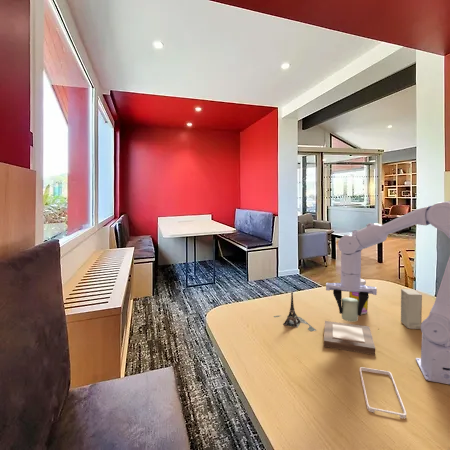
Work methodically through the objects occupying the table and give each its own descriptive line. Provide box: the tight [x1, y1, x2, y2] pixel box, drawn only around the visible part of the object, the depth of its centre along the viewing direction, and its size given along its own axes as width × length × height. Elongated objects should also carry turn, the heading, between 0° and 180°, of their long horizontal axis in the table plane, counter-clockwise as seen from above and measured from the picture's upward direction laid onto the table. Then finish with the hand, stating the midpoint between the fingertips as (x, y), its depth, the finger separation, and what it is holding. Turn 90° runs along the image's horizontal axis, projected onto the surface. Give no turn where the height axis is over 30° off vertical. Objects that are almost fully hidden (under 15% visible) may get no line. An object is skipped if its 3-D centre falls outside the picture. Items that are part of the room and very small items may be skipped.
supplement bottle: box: [348, 278, 369, 315], centre depth 108 cm, size 7×7×13 cm
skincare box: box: [400, 288, 423, 330], centre depth 96 cm, size 6×4×12 cm
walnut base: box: [323, 320, 376, 356], centre depth 89 cm, size 14×14×2 cm
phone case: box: [359, 366, 407, 420], centre depth 65 cm, size 7×1×15 cm
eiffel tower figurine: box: [273, 291, 317, 332], centre depth 100 cm, size 15×10×13 cm
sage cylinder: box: [341, 297, 359, 323], centre depth 88 cm, size 5×5×6 cm
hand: (349, 313), depth 88 cm, fingers closed on sage cylinder, 5 cm apart
